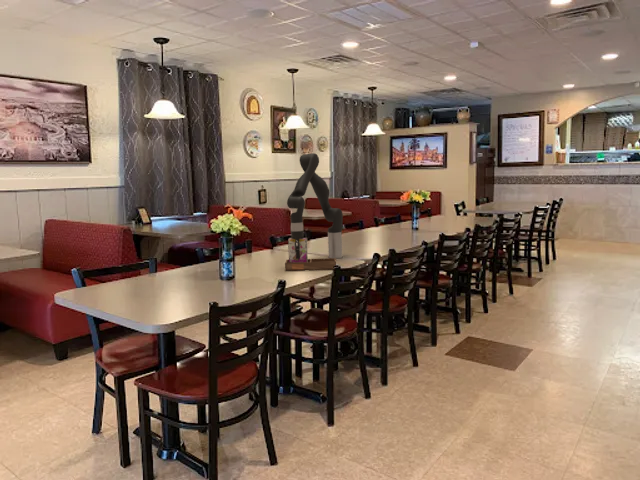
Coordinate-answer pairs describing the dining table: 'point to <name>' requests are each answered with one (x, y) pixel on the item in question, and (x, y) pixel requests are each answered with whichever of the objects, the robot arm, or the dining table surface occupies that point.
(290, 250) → the candy bar box
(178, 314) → the dining table surface
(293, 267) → the organiser rack
